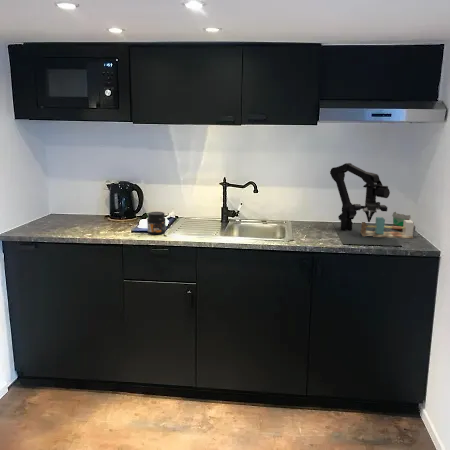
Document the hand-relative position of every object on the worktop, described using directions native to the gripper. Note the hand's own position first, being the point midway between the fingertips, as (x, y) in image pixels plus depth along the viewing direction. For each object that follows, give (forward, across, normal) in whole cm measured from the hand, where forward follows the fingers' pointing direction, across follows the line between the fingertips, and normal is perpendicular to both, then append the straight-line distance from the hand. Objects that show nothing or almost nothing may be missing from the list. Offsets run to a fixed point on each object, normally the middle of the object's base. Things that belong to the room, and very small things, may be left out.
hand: (368, 222), depth 277 cm
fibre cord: (+3, +9, 0) cm, 10 cm away
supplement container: (+8, -123, -19) cm, 124 cm away
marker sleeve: (+6, +6, 0) cm, 9 cm away
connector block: (+7, +23, 0) cm, 24 cm away
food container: (+8, +20, +16) cm, 27 cm away
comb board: (+8, +10, 0) cm, 13 cm away
